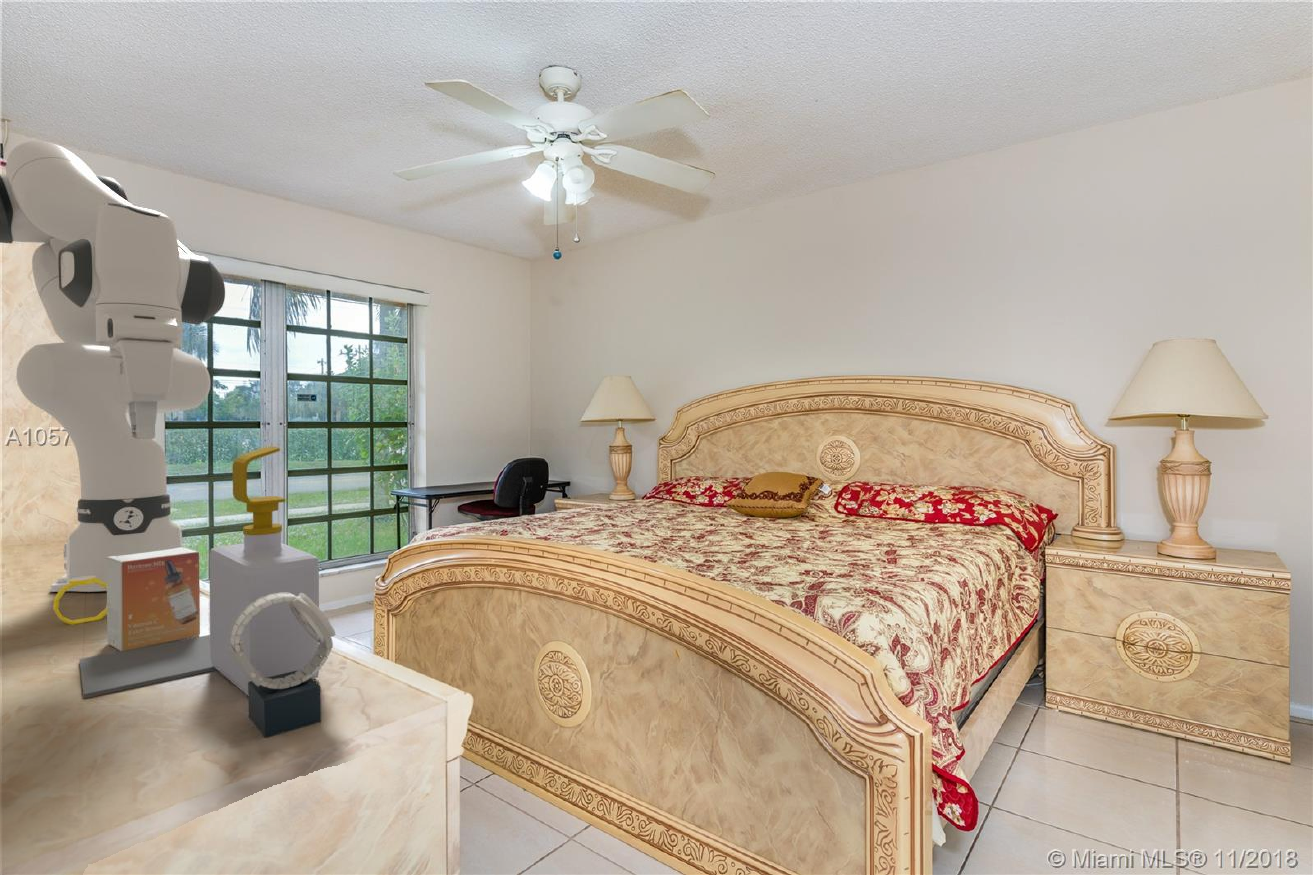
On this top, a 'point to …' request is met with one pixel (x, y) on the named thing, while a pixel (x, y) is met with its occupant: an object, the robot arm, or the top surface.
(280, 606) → the soap bottle
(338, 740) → the top surface
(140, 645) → the small box
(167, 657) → the mat
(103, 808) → the top surface
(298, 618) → the watch
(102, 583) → the watch
